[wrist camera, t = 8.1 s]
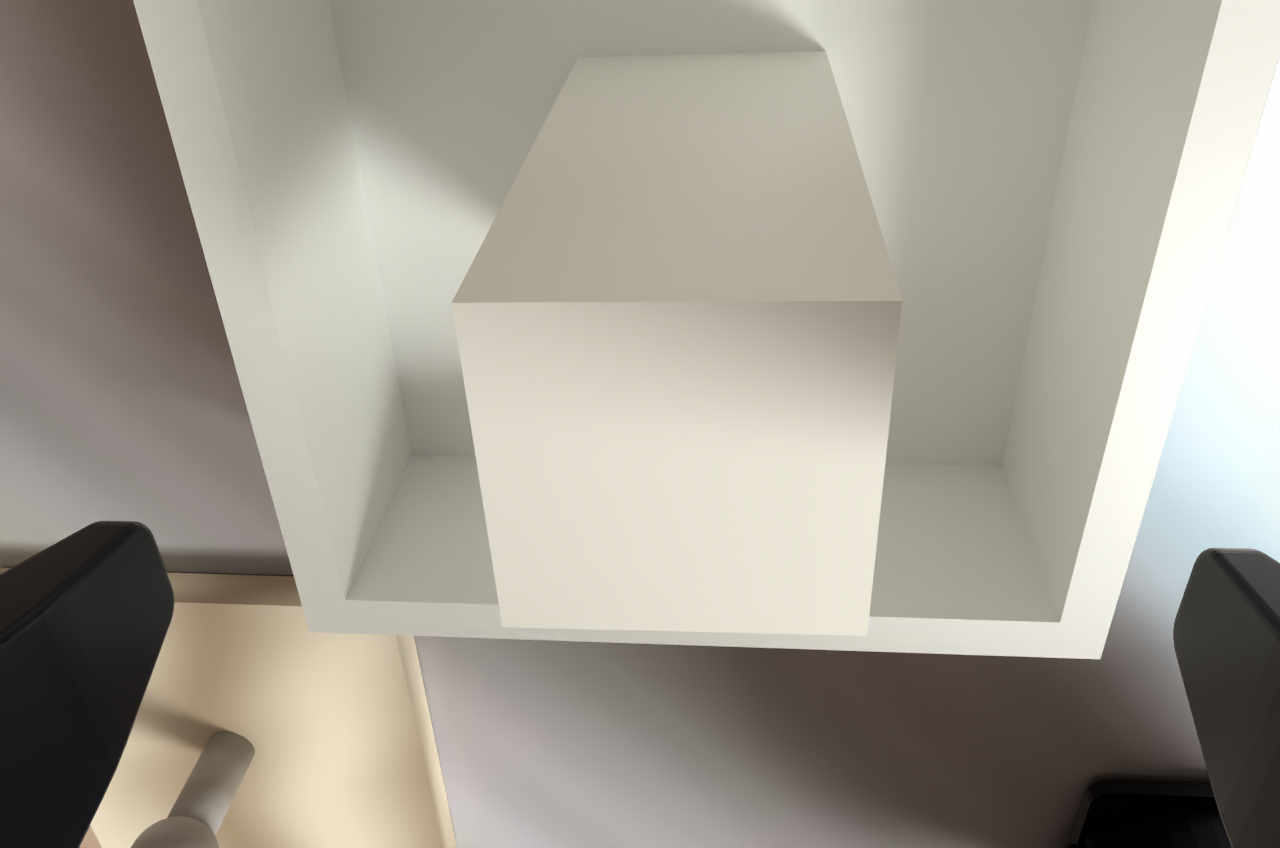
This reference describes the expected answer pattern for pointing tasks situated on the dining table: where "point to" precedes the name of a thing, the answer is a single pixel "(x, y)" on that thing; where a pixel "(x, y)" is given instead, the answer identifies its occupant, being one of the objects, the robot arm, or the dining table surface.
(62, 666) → the robot arm
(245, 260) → the grey bin
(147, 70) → the dining table surface
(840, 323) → the strut
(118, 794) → the stud base
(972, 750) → the dining table surface
